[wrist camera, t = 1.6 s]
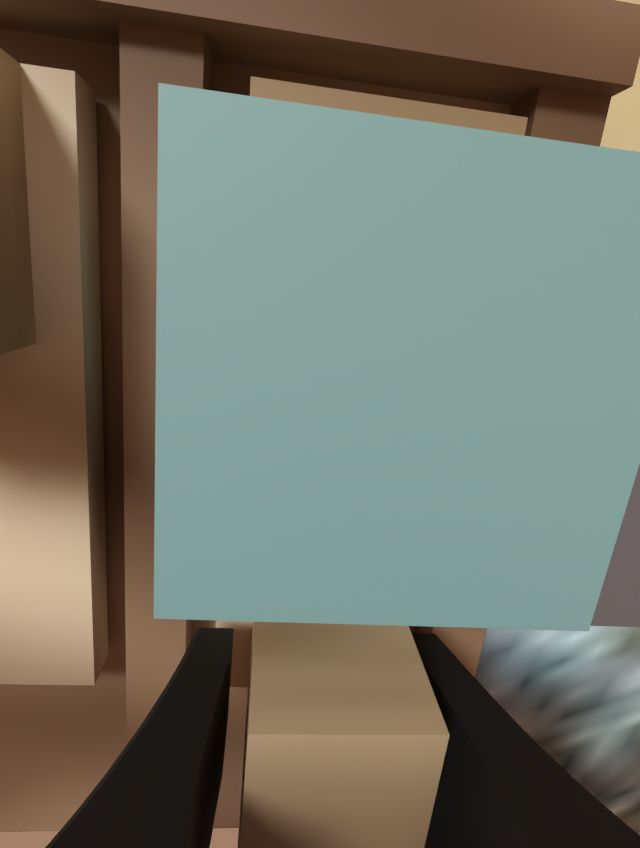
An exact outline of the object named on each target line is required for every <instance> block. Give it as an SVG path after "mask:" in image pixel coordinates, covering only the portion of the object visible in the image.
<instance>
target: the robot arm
mask: <svg viewBox="0 0 640 848" xmlns="http://www.w3.org/2000/svg"><path fill="white" fill-rule="evenodd" d="M233 631H234V628H205V627H201V628H199V629H198V630H197V631H196V632H194V635H193V637H192V639H191V642H190V644H189V646H188V648H187V650H186V652H185V654H184V656H183V658H182V659H181V661H180V663H179V665H178V667H177V668H176V670H175V672H174V674H173V675H172V677H171V679H170V680H169V682H168V684H167V685H166V687H165V689H164V690H163V692H162V693H161V695H160V696H159V698H158V700H157V701H156V703H155V704H154V706H153V707H152V709H151V710H150V712H149V714H148V715H147V717H146V718H145V720H144V721H143V723H142V724H141V726H140V727H139V729H138V730H137V731H136V733H135V734H134V736H133V737H132V738H131V740H130V741H129V742H128V744H127V745H126V747H125V748H124V749H123V751H122V752H121V754H120V755H119V756H118V758H117V759H116V760H115V762H114V763H113V765H112V766H111V767H110V769H109V770H108V771H107V773H106V774H105V775H104V777H103V778H102V779H101V781H100V782H99V783H98V784H97V786H96V787H95V788H94V790H93V791H92V792H91V793H90V795H89V796H88V797H87V798H86V800H85V801H84V802H83V803H82V805H81V806H80V807H79V808H78V810H77V811H76V812H75V813H74V814H73V816H72V817H71V818H70V819H69V820H68V822H67V823H66V824H65V825H64V826H63V828H62V829H61V830H60V831H59V832H58V834H57V835H56V836H55V837H54V838H53V839H52V841H51V842H50V843H49V844H48V845H47V846H46V847H45V848H209V846H210V841H211V835H212V830H213V824H214V819H215V813H216V808H217V802H218V797H219V791H220V786H221V780H222V774H223V764H224V754H225V743H226V733H227V722H228V710H229V694H230V678H231V663H232V647H233ZM411 634H412V636H413V639H414V642H415V644H416V647H417V650H418V652H419V655H420V658H421V660H422V663H423V666H424V668H425V671H426V673H427V676H428V679H429V681H430V684H431V687H432V689H433V692H434V695H435V697H436V700H437V703H438V705H439V708H440V711H441V713H442V716H443V719H444V721H445V724H446V727H447V729H448V732H449V735H450V736H449V740H448V745H447V749H446V754H445V758H444V762H443V767H442V771H441V776H440V780H439V785H438V789H437V793H436V798H435V802H434V807H433V811H432V816H431V820H430V824H429V829H428V833H427V838H426V842H425V847H424V848H640V836H639V835H638V834H637V833H635V832H634V831H633V830H632V829H631V828H630V827H628V826H627V825H626V824H625V823H624V822H623V821H621V820H620V819H619V818H618V817H617V816H616V815H614V814H613V813H612V812H611V811H610V810H609V809H607V808H606V807H605V806H604V805H603V804H602V803H600V802H599V801H598V800H597V799H596V798H595V797H593V796H592V795H591V794H590V793H589V792H588V791H587V790H586V789H585V788H583V787H582V786H581V785H580V784H579V783H578V782H577V781H576V780H575V779H574V778H572V777H571V776H570V775H569V774H568V773H567V772H566V771H565V770H564V769H563V768H562V767H561V766H560V765H559V764H558V763H557V762H556V761H555V760H554V759H553V758H552V757H551V756H549V755H548V754H547V753H546V752H545V751H544V750H543V749H542V748H541V747H540V746H539V745H538V744H537V743H536V742H535V741H534V740H533V739H532V738H531V737H530V736H529V735H528V734H527V733H526V732H525V731H524V730H523V729H522V728H521V727H520V726H519V725H518V724H517V723H516V722H515V721H514V720H513V719H512V718H511V716H510V715H509V714H508V713H507V712H506V711H505V710H504V709H503V708H502V707H501V706H500V705H499V704H498V703H497V702H496V701H495V700H494V698H493V697H492V696H491V695H490V694H489V693H488V692H487V691H486V690H485V689H484V688H483V686H482V685H481V684H480V683H479V682H478V681H477V680H476V679H475V678H474V677H473V675H472V674H471V673H470V672H469V671H468V670H467V669H466V668H465V667H464V665H463V664H462V663H461V662H460V661H459V660H458V659H457V658H456V656H455V655H454V654H453V653H452V652H451V651H450V650H449V649H448V647H447V646H446V645H445V644H444V643H443V642H442V641H441V640H440V639H439V638H438V636H437V635H436V634H431V633H411Z"/></svg>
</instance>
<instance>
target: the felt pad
mask: <svg viewBox="0 0 640 848" xmlns="http://www.w3.org/2000/svg"><path fill="white" fill-rule="evenodd" d="M591 625H594V626H628V627H640V464H639V468H638V471H637V474H636V477H635V481H634V484H633V487H632V491H631V494H630V497H629V500H628V504H627V507H626V510H625V514H624V517H623V520H622V523H621V527H620V530H619V533H618V537H617V540H616V543H615V546H614V550H613V553H612V556H611V560H610V563H609V566H608V569H607V573H606V576H605V579H604V583H603V586H602V589H601V592H600V596H599V599H598V602H597V606H596V609H595V612H594V615H593V619H592V622H591Z"/></svg>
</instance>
